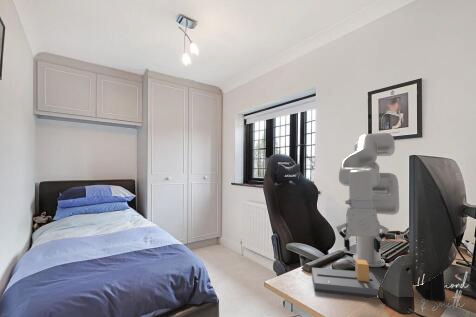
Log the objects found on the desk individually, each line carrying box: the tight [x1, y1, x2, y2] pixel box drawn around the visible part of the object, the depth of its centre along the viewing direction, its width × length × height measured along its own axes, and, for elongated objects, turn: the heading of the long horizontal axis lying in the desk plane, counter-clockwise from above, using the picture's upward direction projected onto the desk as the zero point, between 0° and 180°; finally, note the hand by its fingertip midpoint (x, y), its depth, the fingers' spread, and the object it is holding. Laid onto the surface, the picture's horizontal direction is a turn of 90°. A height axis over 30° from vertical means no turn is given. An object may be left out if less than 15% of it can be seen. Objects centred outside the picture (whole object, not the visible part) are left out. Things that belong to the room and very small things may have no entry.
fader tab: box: [354, 259, 370, 282], centre depth 85 cm, size 4×4×8 cm
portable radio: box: [414, 271, 446, 302], centre depth 79 cm, size 8×6×25 cm
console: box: [311, 267, 381, 298], centre depth 86 cm, size 12×22×3 cm, turn 77°
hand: (361, 250), depth 86 cm, fingers open, 9 cm apart
